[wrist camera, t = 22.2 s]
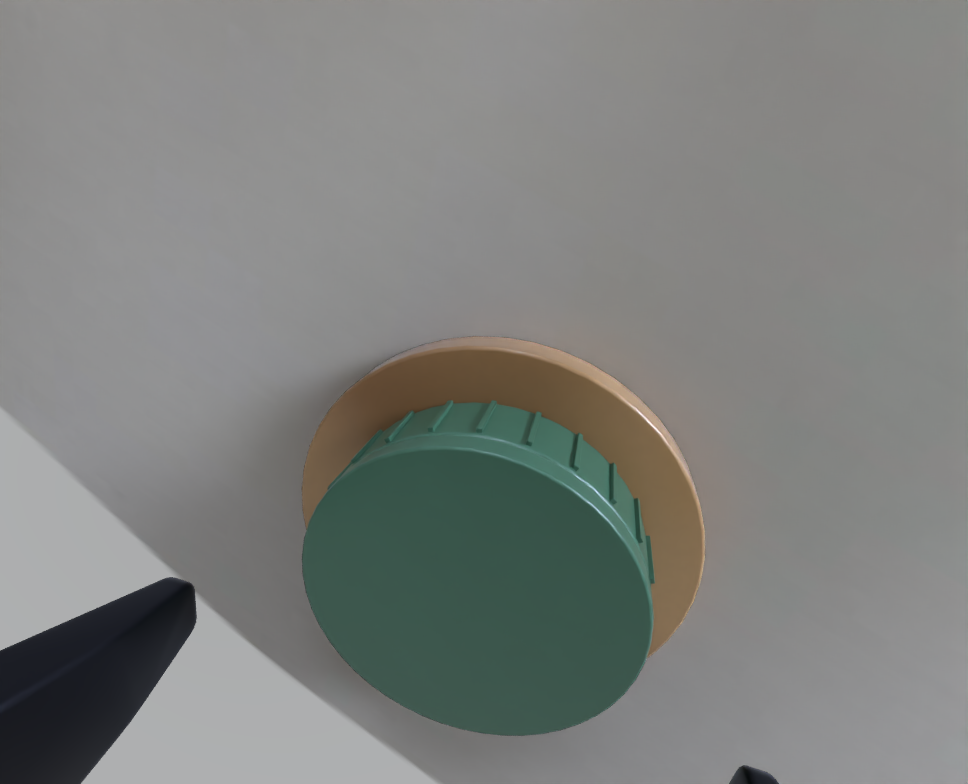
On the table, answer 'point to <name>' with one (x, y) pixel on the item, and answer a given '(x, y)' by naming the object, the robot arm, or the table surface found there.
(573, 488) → the jar lid
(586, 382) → the coaster
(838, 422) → the table surface
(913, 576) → the table surface
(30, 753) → the robot arm
